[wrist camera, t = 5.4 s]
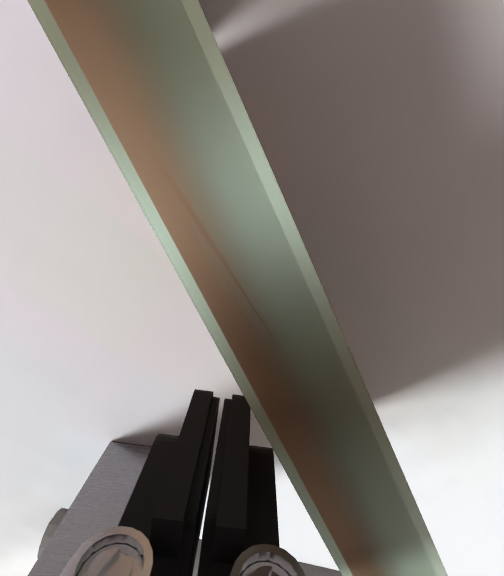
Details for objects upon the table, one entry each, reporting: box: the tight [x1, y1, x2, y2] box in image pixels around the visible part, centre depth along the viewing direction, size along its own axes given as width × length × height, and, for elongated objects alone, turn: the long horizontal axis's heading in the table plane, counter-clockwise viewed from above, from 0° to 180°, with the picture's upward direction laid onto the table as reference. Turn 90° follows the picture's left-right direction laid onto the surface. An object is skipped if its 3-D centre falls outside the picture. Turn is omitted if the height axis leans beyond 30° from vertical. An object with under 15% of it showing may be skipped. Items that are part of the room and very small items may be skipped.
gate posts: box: [28, 442, 152, 576], centre depth 9 cm, size 3×23×10 cm, turn 173°
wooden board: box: [28, 0, 448, 576], centre depth 9 cm, size 16×2×7 cm, turn 25°
